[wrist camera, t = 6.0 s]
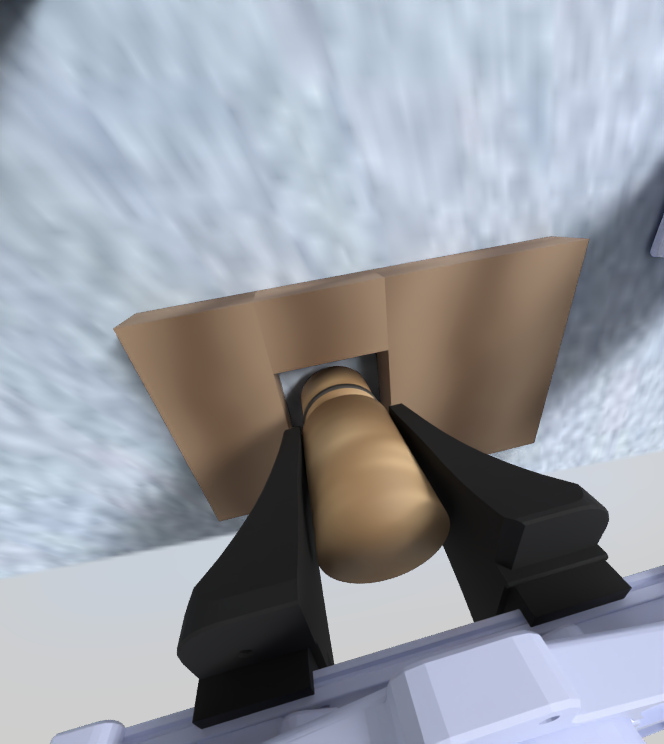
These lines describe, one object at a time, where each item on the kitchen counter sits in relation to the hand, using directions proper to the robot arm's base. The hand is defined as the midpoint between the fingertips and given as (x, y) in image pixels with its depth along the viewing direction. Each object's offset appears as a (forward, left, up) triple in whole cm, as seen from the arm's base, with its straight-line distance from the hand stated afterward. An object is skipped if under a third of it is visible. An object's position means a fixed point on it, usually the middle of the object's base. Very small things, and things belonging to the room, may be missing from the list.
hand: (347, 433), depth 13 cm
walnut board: (-2, 0, -4) cm, 4 cm away
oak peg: (0, 0, -3) cm, 3 cm away
